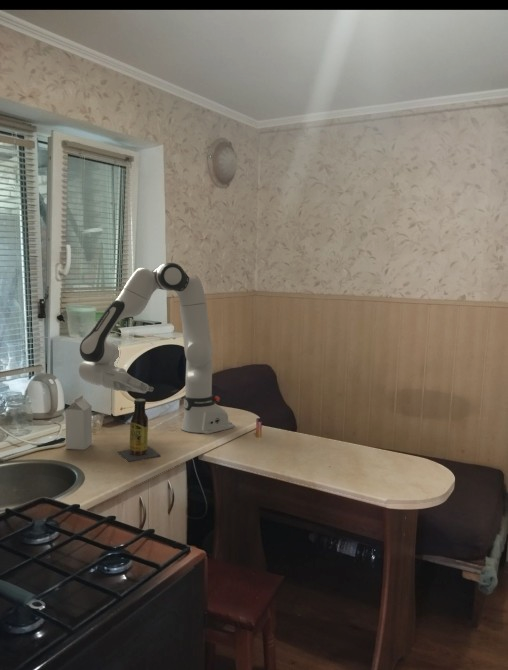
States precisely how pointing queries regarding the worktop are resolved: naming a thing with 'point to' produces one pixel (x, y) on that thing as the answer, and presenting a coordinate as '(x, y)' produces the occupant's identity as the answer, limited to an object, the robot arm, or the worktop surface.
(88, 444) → the milk carton
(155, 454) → the mat
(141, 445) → the sauce bottle
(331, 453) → the worktop surface
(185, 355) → the robot arm
